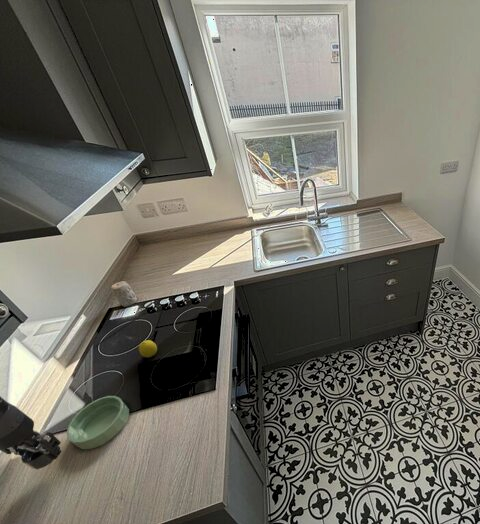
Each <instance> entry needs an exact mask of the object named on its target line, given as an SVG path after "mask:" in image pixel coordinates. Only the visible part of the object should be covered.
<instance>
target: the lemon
mask: <svg viewBox="0 0 480 524" xmlns="http://www.w3.org/2000/svg"><path fill="white" fill-rule="evenodd" d="M138 351H139V354H140V355H141V356H142V357H144V358H151V357H153V356H155V355H156V354H157V352H158V346H157V344H156V343H155V342H154V341H153V340H150V339H148V340H144V341H142V342H140V344H139V345H138Z"/></svg>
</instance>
